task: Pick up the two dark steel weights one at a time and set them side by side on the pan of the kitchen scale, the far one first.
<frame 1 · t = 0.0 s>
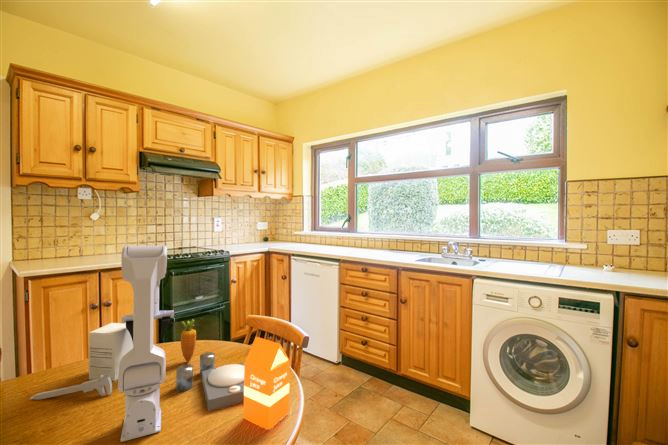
hand: (148, 341, 101), 10 cm above the table, tool pointing down, fingers open, 7 cm apart
steel weight 2: (184, 387, 93), on the table
orange juice: (266, 417, 80), on the table
steel weight 1: (207, 373, 101), on the table
kitchen scale: (229, 386, 94), on the table
supplement box: (112, 374, 100), on the table
caliper: (71, 398, 87), on the table
carrot: (188, 362, 109), on the table
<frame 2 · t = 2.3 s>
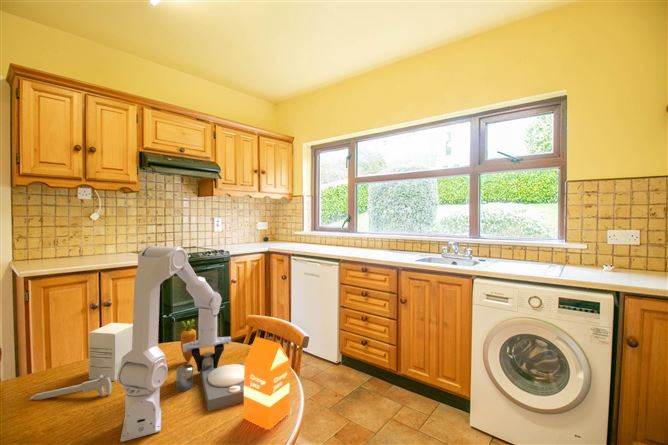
hand: (207, 368, 101), 1 cm above the table, tool pointing down, fingers closed on steel weight 1, 4 cm apart
steel weight 1: (207, 373, 101), on the table, touching gripper
everything else where it was.
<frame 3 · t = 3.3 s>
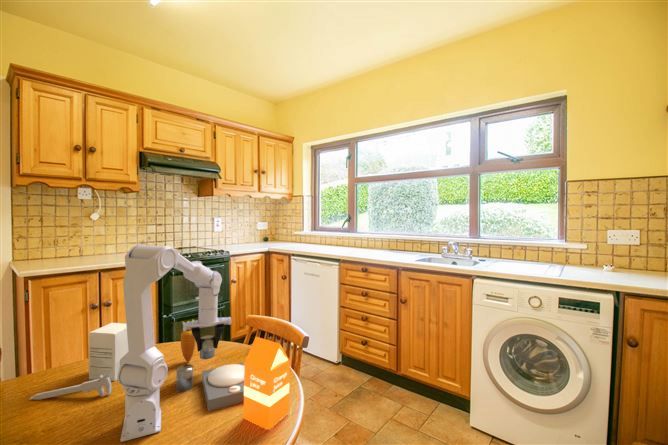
hand: (207, 348, 101), 8 cm above the table, tool pointing down, fingers closed on steel weight 1, 4 cm apart
steel weight 1: (207, 356, 101), point 6 cm above the table, touching gripper
everything else where it was.
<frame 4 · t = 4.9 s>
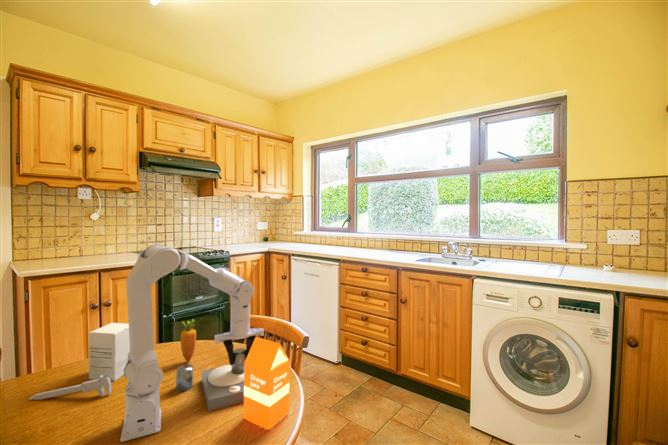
hand: (239, 362, 95), 7 cm above the table, tool pointing down, fingers closed on steel weight 1, 4 cm apart
steel weight 1: (238, 370, 96), point 4 cm above the table, touching gripper, kitchen scale
everything else where it was.
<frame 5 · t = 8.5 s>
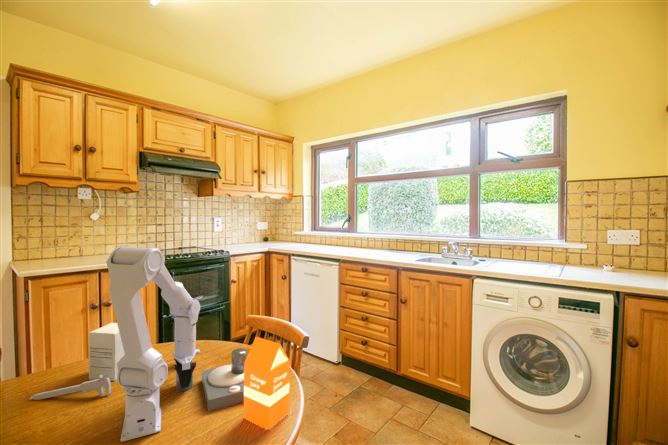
hand: (184, 382, 93), 1 cm above the table, tool pointing down, fingers closed on steel weight 2, 4 cm apart
steel weight 2: (184, 387, 93), on the table, touching gripper
steel weight 1: (238, 370, 96), point 4 cm above the table, touching kitchen scale
everything else where it was.
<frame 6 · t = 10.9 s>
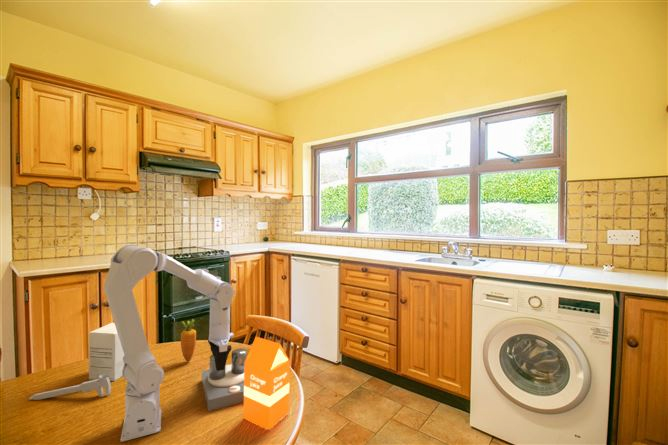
hand: (219, 366, 93), 7 cm above the table, tool pointing down, fingers closed on steel weight 2, 4 cm apart
steel weight 2: (217, 376, 92), point 4 cm above the table, touching gripper, kitchen scale
everything else where it was.
when the fingers open (7 cm above the table, at t = 11.2 s): steel weight 2 stays where it is, resting on kitchen scale.
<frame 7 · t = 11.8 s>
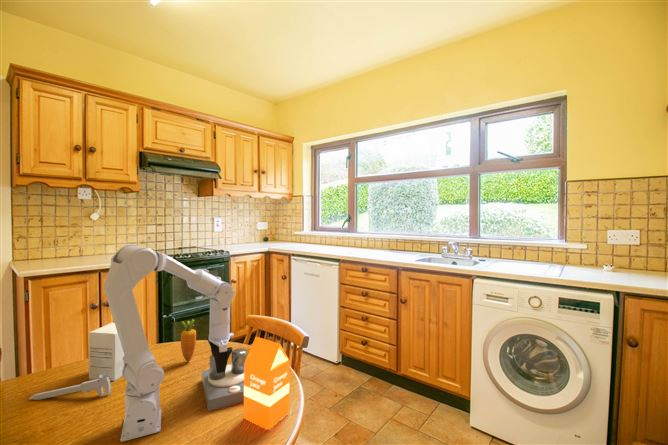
hand: (219, 366, 93), 7 cm above the table, tool pointing down, fingers open, 7 cm apart
steel weight 2: (217, 376, 92), point 4 cm above the table, touching kitchen scale
everything else where it was.
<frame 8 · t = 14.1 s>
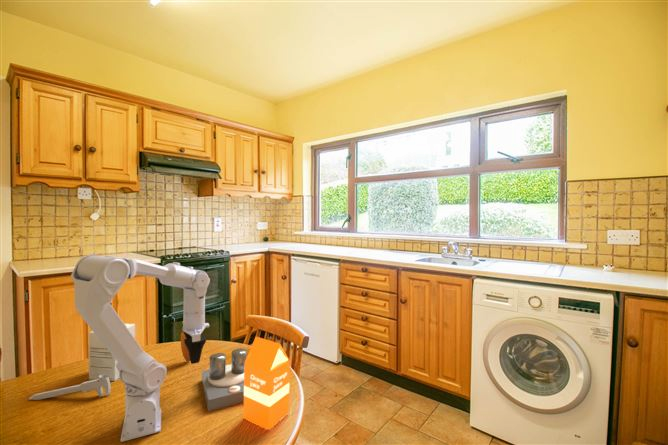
hand: (193, 357, 90), 10 cm above the table, tool pointing down, fingers open, 7 cm apart
nothing on the table moved.
at the end: steel weight 1 inside the target area on the kitchen scale (0.6 cm from its centre), point 3.8 cm above the kitchen scale's base; steel weight 2 inside the target area on the kitchen scale (0.4 cm from its centre), point 3.8 cm above the kitchen scale's base; the gripper is holding nothing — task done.
